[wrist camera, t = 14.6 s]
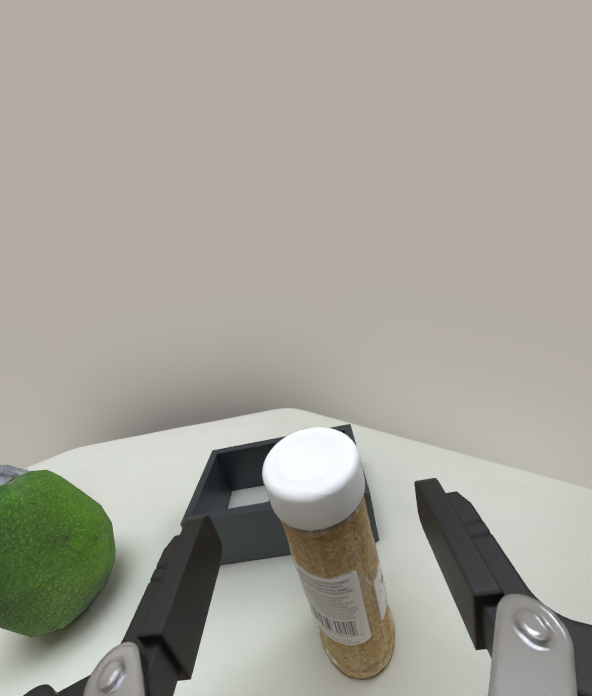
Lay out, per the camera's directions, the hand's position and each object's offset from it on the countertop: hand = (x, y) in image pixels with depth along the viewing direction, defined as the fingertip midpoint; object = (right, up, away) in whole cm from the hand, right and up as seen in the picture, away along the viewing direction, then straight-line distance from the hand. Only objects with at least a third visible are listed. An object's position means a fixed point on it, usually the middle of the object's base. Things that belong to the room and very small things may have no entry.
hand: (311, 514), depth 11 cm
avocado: (-18, -14, +12) cm, 26 cm away
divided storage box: (-1, -9, +15) cm, 18 cm away
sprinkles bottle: (+3, -11, +7) cm, 13 cm away
